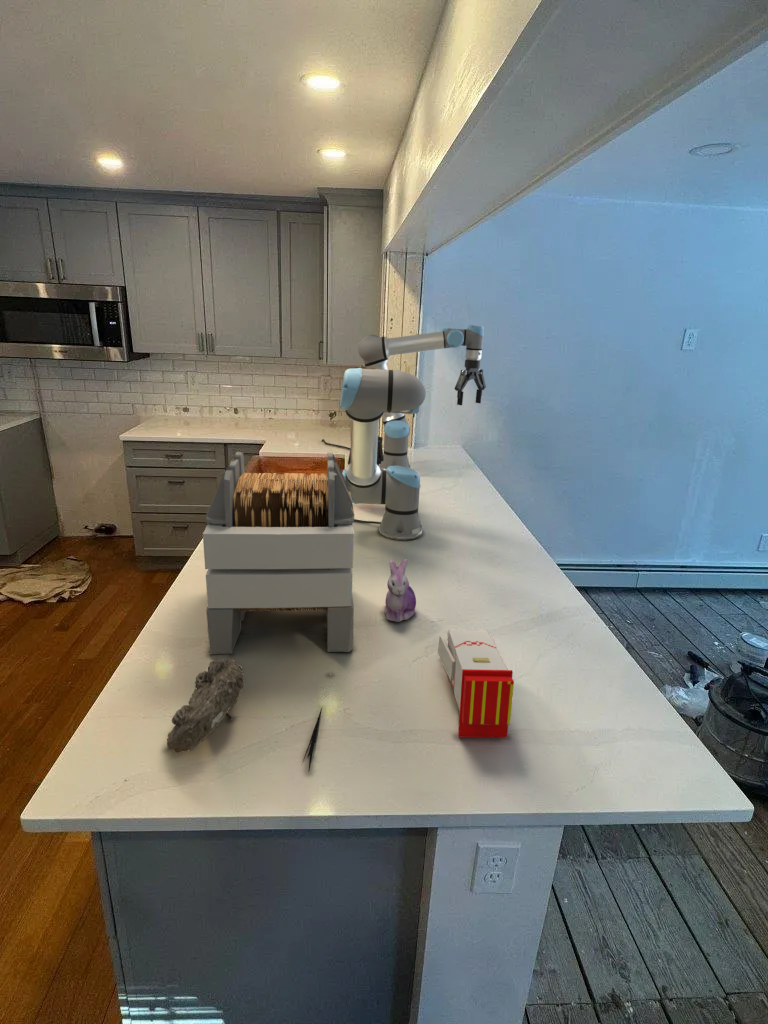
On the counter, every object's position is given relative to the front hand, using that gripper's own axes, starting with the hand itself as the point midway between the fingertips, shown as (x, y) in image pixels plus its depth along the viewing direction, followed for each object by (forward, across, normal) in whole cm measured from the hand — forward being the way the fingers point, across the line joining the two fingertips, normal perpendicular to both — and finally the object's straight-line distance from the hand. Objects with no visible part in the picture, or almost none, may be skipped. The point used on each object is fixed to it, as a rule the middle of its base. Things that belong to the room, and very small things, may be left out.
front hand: (365, 481), depth 221 cm
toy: (+12, +52, +104) cm, 117 cm away
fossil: (+12, +98, +80) cm, 127 cm away
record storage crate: (+12, +68, +56) cm, 88 cm away
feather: (+12, +81, +93) cm, 124 cm away
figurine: (+12, +43, +71) cm, 84 cm away
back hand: (-22, -79, -22) cm, 85 cm away
